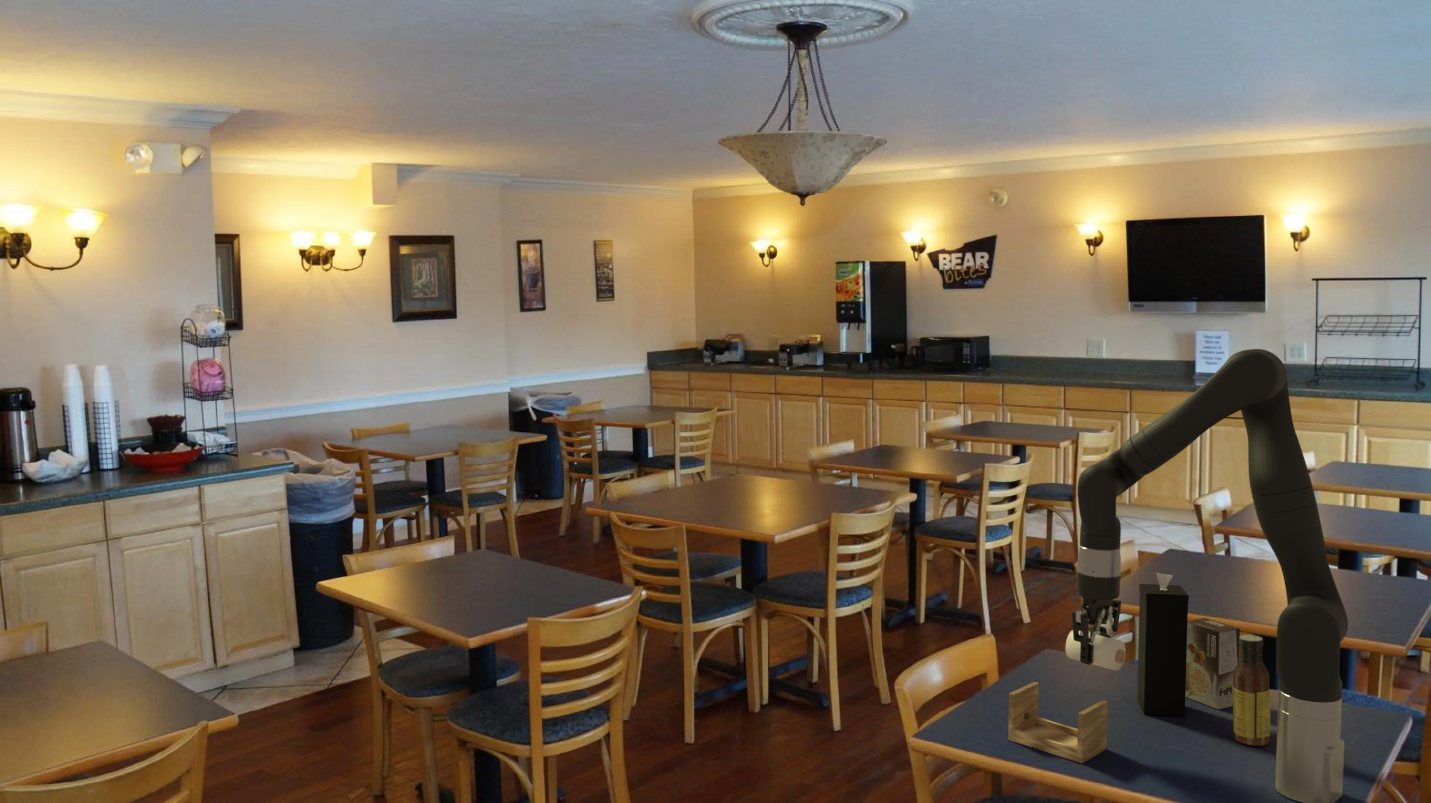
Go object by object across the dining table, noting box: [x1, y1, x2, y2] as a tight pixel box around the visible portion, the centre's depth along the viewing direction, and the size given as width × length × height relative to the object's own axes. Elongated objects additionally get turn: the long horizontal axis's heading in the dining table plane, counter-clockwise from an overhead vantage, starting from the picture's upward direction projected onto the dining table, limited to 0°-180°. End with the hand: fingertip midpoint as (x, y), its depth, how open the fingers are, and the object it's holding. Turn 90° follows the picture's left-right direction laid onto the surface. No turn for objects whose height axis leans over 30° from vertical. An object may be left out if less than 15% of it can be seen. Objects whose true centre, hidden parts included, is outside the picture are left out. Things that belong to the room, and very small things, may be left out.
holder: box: [1007, 681, 1109, 764], centre depth 203 cm, size 15×9×9 cm, turn 43°
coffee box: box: [1185, 617, 1241, 710], centre depth 225 cm, size 9×6×16 cm
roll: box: [1065, 629, 1127, 672], centre depth 202 cm, size 10×6×6 cm, turn 42°
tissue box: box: [1136, 572, 1190, 717], centre depth 220 cm, size 8×8×28 cm
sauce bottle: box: [1232, 634, 1271, 747], centre depth 204 cm, size 7×6×20 cm
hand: (1094, 659), depth 202 cm, fingers closed on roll, 5 cm apart
